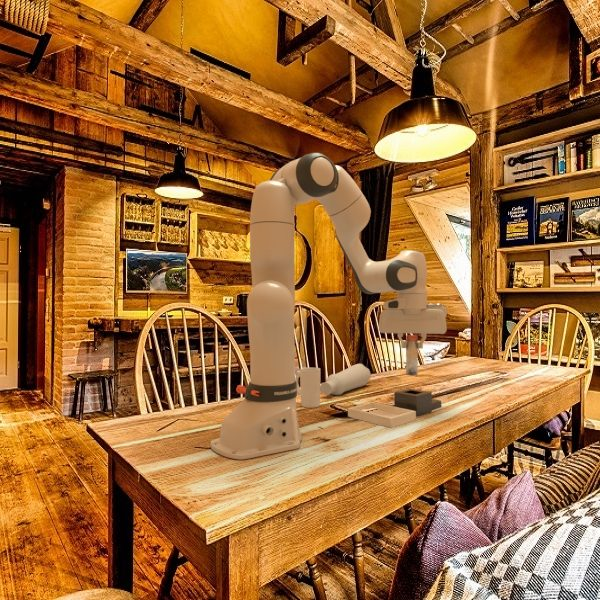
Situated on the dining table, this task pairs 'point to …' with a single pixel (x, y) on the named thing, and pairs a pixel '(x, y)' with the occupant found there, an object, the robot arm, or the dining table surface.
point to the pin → (412, 355)
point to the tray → (382, 414)
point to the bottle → (346, 380)
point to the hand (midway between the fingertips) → (411, 348)
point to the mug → (309, 387)
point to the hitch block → (416, 401)
